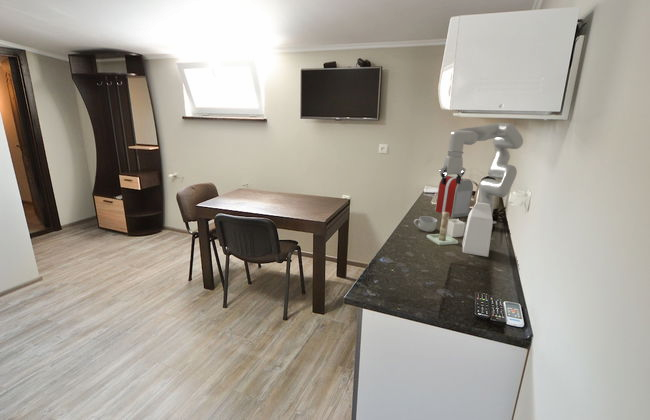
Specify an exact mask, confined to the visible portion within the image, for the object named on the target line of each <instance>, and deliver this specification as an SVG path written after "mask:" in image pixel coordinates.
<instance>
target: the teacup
mask: <svg viewBox="0 0 650 420" xmlns="http://www.w3.org/2000/svg"><path fill="white" fill-rule="evenodd" d="M417 222H418V224H417ZM437 223H438V219H437V218H435V217H433V216H430V215H429V216H428V215H422V216H421V215H420V216H419V218H416V219H414V220H413V224H414V225H415V226H416V227H417V228H418V229H419V230H421V231H422V232H425V233H432V232H434V231H435V230H436V228H437V225H438V224H437Z"/></svg>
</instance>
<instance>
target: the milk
mask: <svg viewBox="0 0 650 420" xmlns="http://www.w3.org/2000/svg"><path fill="white" fill-rule="evenodd" d="M493 221H494V220H493V213H491V208H490V204H485V203H478V202H476V203H475V204H474V206H472V208H471V210H469V215H468V216H467V219H466V224H465V229H464V234H463V239H462V243H461V244H462V249H461V250H462V253H464V254H468V255H469V254H470V255H475V256H482V257H488V258H489V253H490V245H491V239H492V238H491V237H492V232H493V231H492V230H493V228H492V227H493V225H494V224H493Z"/></svg>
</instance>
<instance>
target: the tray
mask: <svg viewBox="0 0 650 420" xmlns="http://www.w3.org/2000/svg"><path fill="white" fill-rule="evenodd" d="M439 234H440V233H435V234H434V233H433V234H426V239H427V240H429V241H430V242H431V243H434V244H435V245H437V246H443V245H455V244H459V240H457V239H456V238H455V237H451V236H449V235H447V234H446V240H445V241H441V240H439Z"/></svg>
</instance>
